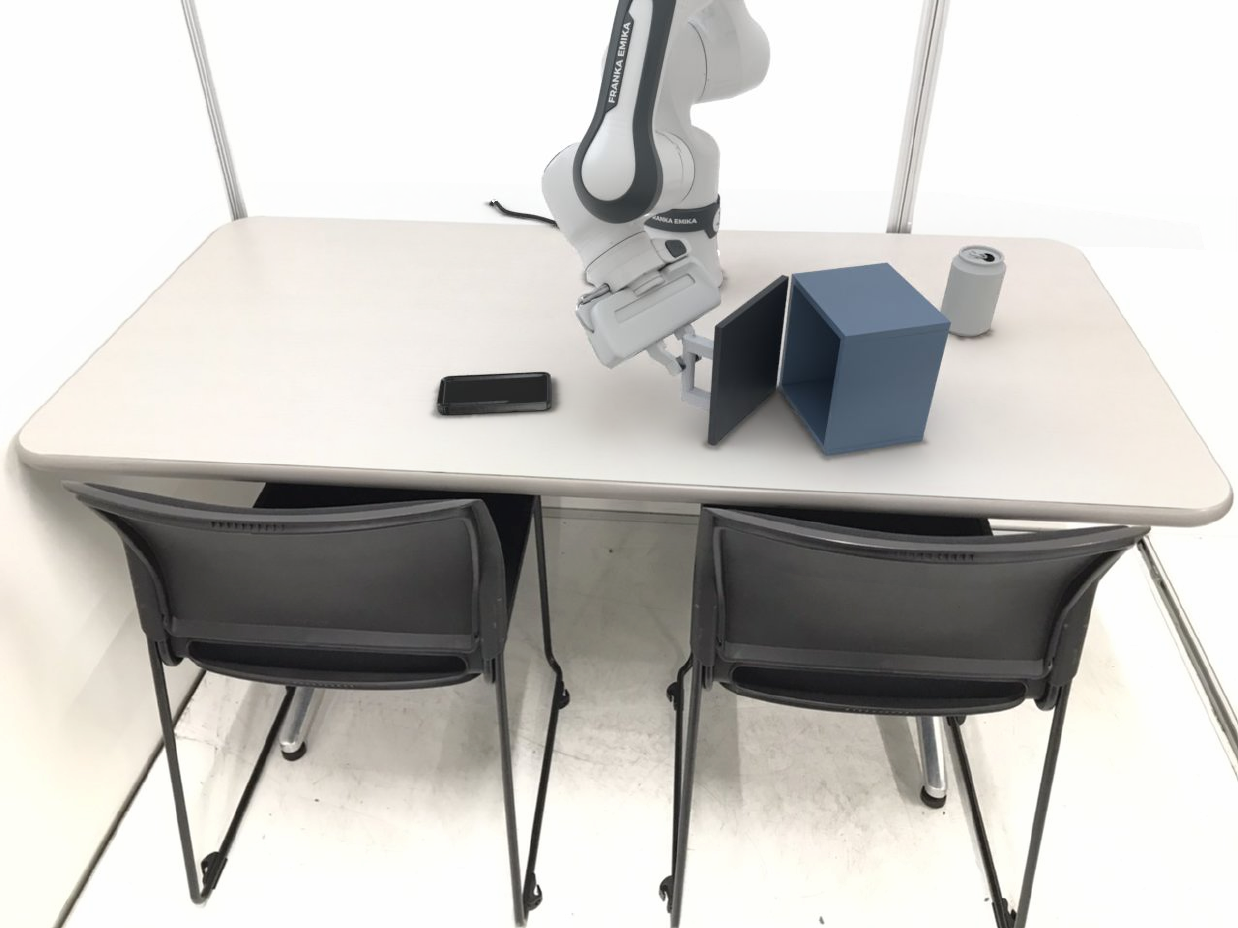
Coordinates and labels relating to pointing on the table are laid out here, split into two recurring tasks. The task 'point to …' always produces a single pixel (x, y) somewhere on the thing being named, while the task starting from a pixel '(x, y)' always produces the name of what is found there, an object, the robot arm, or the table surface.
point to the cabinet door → (738, 360)
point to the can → (973, 289)
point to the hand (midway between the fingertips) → (687, 367)
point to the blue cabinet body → (861, 357)
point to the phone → (494, 393)
